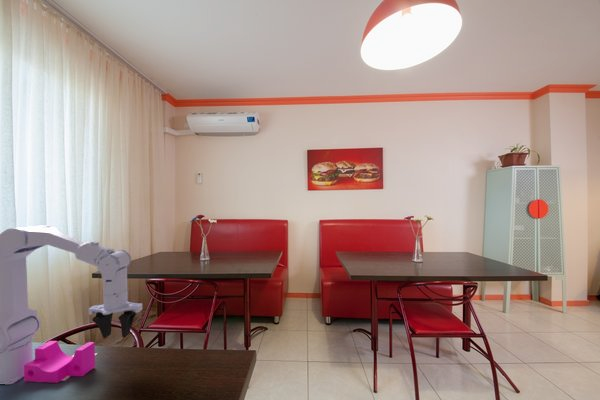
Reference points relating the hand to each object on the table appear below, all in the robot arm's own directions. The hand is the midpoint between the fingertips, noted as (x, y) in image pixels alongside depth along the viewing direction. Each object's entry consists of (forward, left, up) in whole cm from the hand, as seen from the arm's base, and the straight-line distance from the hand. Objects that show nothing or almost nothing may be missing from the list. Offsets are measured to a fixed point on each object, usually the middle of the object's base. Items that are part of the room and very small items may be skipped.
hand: (116, 335), depth 69 cm
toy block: (-14, -2, -9) cm, 17 cm away
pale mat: (-15, +1, -9) cm, 17 cm away
